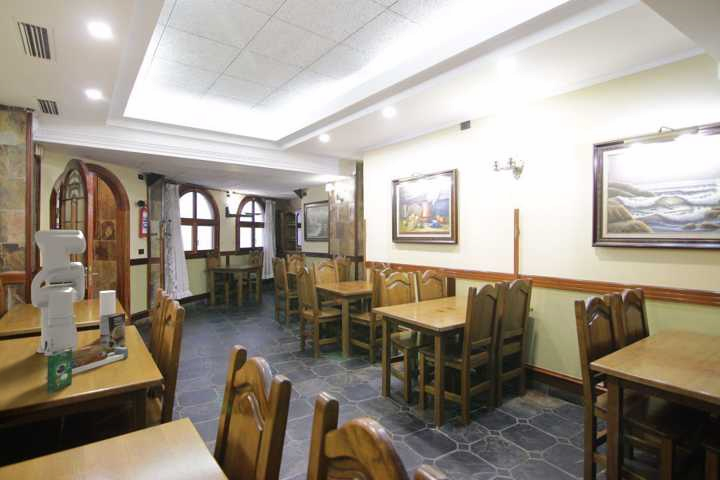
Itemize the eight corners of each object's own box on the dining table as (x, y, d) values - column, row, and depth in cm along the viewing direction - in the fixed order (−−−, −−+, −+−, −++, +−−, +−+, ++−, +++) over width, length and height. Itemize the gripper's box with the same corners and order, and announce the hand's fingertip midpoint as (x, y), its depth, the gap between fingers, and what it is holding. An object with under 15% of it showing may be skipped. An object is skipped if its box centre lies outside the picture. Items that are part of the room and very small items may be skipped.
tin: (67, 373, 146) (67, 352, 146) (63, 372, 148) (63, 351, 148) (108, 362, 160) (108, 343, 160) (104, 361, 161) (104, 342, 161)
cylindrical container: (109, 339, 195) (109, 292, 195) (96, 339, 195) (96, 292, 195) (118, 335, 202) (118, 290, 202) (106, 335, 202) (105, 290, 202)
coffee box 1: (65, 383, 138) (65, 348, 137) (73, 383, 137) (72, 348, 137) (46, 392, 129) (46, 355, 129) (54, 392, 129) (54, 355, 129)
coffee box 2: (110, 350, 176) (110, 317, 176) (99, 349, 178) (99, 316, 177) (126, 344, 185) (126, 313, 185) (115, 343, 187) (115, 312, 186)
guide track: (47, 376, 144) (47, 366, 143) (118, 355, 169) (118, 346, 169) (57, 379, 141) (57, 369, 141) (127, 357, 167) (127, 348, 167)
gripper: (76, 316, 153) (76, 360, 153) (32, 324, 139) (33, 372, 140) (87, 318, 150) (87, 362, 150) (43, 326, 136) (44, 375, 137)
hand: (61, 367), depth 145 cm, fingers closed
